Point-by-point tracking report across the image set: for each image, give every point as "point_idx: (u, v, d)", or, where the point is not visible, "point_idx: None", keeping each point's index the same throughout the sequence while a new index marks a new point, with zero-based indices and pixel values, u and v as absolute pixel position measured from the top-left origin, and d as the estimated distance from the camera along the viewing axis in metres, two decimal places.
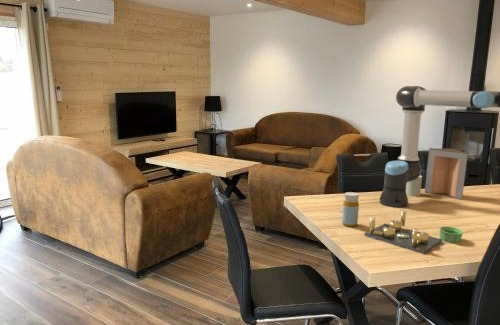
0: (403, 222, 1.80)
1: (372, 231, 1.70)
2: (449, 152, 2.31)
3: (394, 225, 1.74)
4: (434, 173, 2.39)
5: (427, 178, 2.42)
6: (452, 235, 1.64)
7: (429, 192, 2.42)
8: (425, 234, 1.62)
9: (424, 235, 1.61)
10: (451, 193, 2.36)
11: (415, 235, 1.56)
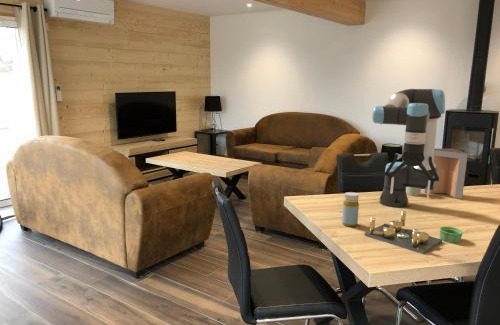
0: (403, 222, 1.80)
1: (372, 231, 1.70)
2: (449, 152, 2.31)
3: (394, 225, 1.74)
4: None
5: None
6: (452, 235, 1.64)
7: (429, 192, 2.42)
8: (425, 234, 1.62)
9: (424, 235, 1.61)
10: (451, 193, 2.36)
11: (415, 235, 1.56)
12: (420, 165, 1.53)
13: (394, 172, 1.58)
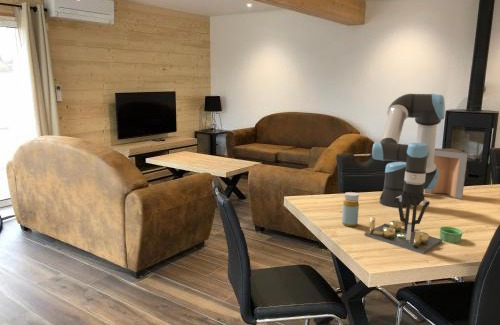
0: (403, 222, 1.80)
1: (372, 231, 1.70)
2: (449, 152, 2.31)
3: (394, 225, 1.74)
4: None
5: None
6: (452, 235, 1.64)
7: (429, 192, 2.42)
8: (425, 234, 1.62)
9: (424, 235, 1.61)
10: (451, 193, 2.36)
11: (417, 236, 1.56)
12: (415, 206, 1.55)
13: (407, 217, 1.57)
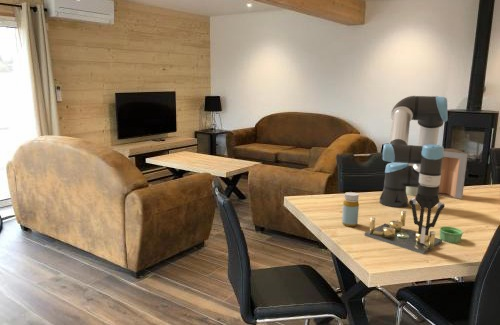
0: (403, 222, 1.80)
1: (372, 231, 1.70)
2: (449, 152, 2.31)
3: (394, 225, 1.74)
4: None
5: None
6: (452, 235, 1.64)
7: None
8: None
9: None
10: (451, 193, 2.36)
11: (434, 237, 1.54)
12: (429, 209, 1.51)
13: (421, 220, 1.54)
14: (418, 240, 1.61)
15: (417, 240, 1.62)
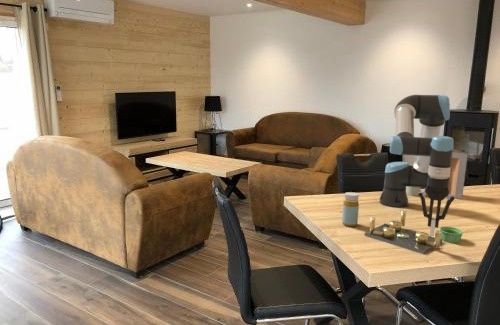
0: (403, 222, 1.80)
1: (372, 231, 1.70)
2: None
3: (394, 225, 1.74)
4: None
5: None
6: (452, 235, 1.64)
7: None
8: (422, 233, 1.63)
9: (425, 234, 1.62)
10: (451, 193, 2.36)
11: (440, 236, 1.56)
12: (439, 201, 1.50)
13: (430, 212, 1.53)
14: (421, 241, 1.61)
15: (419, 241, 1.61)
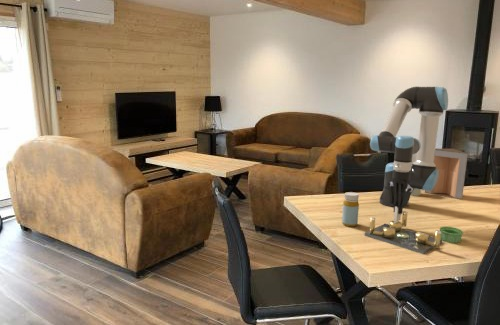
0: (404, 222, 1.79)
1: (372, 231, 1.70)
2: (449, 152, 2.31)
3: (393, 225, 1.74)
4: None
5: None
6: (453, 235, 1.64)
7: (429, 192, 2.42)
8: (422, 233, 1.63)
9: (425, 234, 1.62)
10: (451, 193, 2.36)
11: (440, 236, 1.56)
12: (399, 190, 1.77)
13: (394, 200, 1.81)
14: (421, 241, 1.61)
15: (419, 241, 1.61)
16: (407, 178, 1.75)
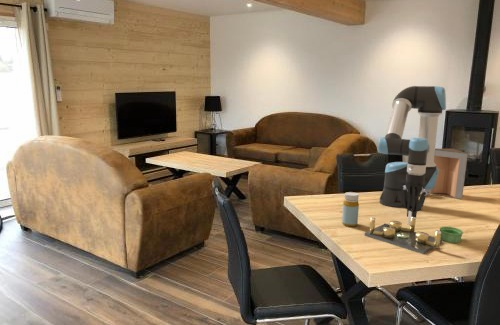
0: (410, 227, 1.73)
1: (372, 231, 1.70)
2: (449, 152, 2.31)
3: None
4: None
5: None
6: (452, 235, 1.64)
7: (429, 192, 2.42)
8: (422, 233, 1.63)
9: (425, 234, 1.62)
10: (451, 193, 2.36)
11: (440, 236, 1.56)
12: (413, 194, 1.71)
13: (408, 204, 1.75)
14: (421, 241, 1.61)
15: (419, 241, 1.61)
16: (421, 181, 1.69)
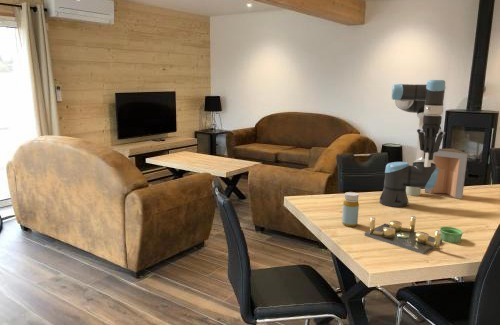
0: (410, 227, 1.73)
1: (372, 231, 1.70)
2: (449, 152, 2.31)
3: None
4: None
5: None
6: (452, 235, 1.64)
7: (429, 192, 2.42)
8: (422, 233, 1.63)
9: (425, 234, 1.62)
10: (451, 193, 2.36)
11: (440, 236, 1.56)
12: (430, 135, 1.76)
13: (425, 146, 1.79)
14: (421, 241, 1.61)
15: (419, 241, 1.61)
16: (439, 122, 1.73)
